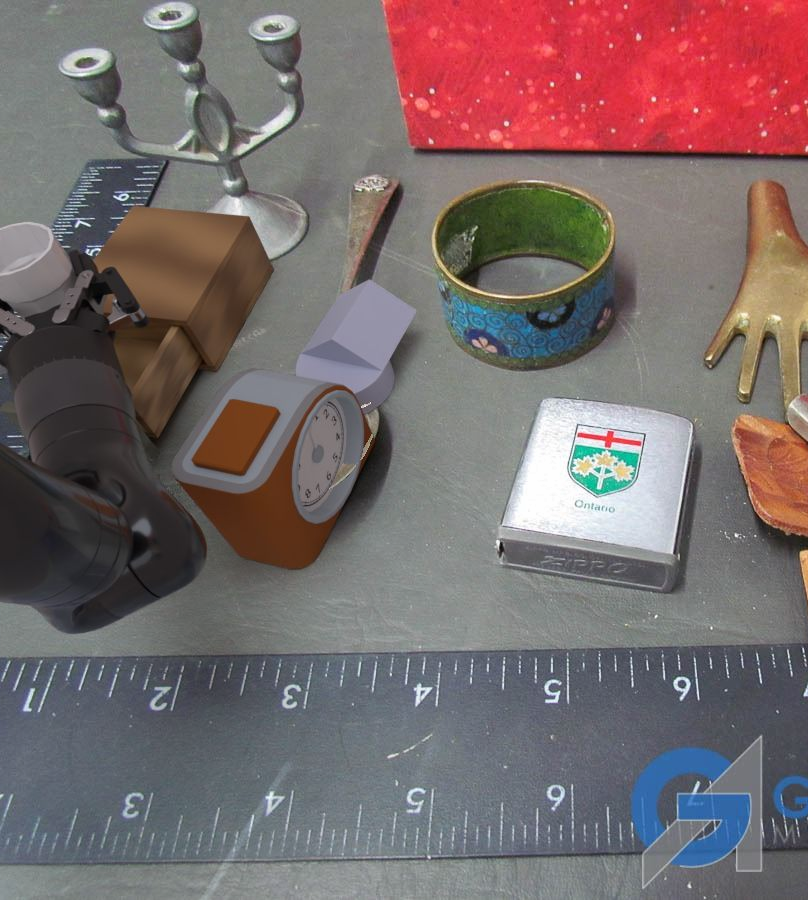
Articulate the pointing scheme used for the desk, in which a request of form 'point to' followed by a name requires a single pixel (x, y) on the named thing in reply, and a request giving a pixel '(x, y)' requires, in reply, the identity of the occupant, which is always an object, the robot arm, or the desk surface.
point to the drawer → (149, 375)
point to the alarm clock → (274, 463)
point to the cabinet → (190, 272)
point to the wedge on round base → (358, 343)
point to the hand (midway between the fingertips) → (38, 272)
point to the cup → (33, 268)
